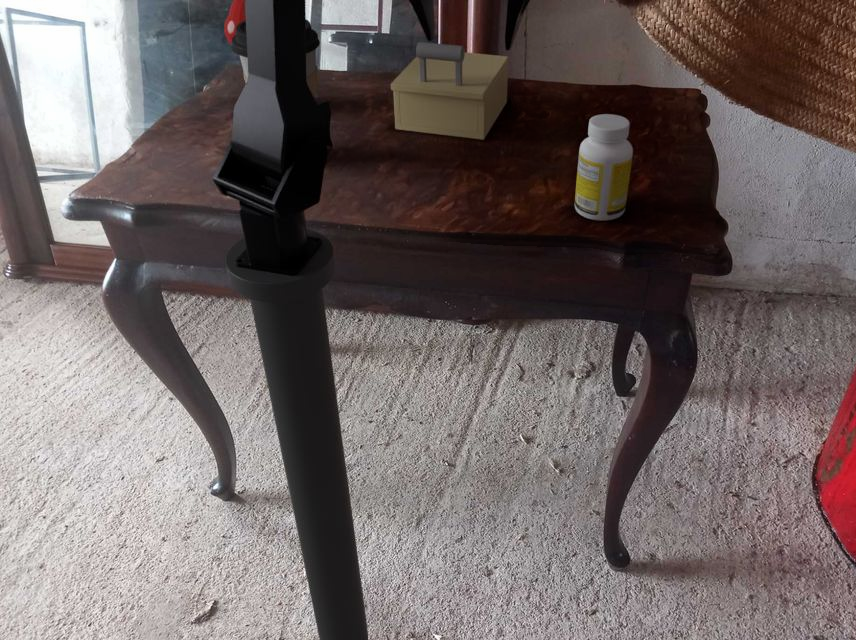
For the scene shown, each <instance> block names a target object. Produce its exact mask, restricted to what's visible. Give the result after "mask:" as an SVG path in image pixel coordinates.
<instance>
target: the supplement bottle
mask: <svg viewBox="0 0 856 640" xmlns="http://www.w3.org/2000/svg"><path fill="white" fill-rule="evenodd" d="M630 126H631V125H630V120H629V119H627V117H624V116H622V115H619V114H610V113H603V114H597V115H593V116H591V118H590V119H589V121H588V128H587V137H585V138H584V139H583V140H582V141H581V143H580V146H579V149H578V150H579V151H578V160H577V161H578V162H577V169H576V170H577V172H576V181H575V194H574V209H575V212H576V213H578V214H579V215H580V216H582V217H583V218H586V219H589V220H592V221H605V222H606V221H612V220H615V219H618V218H620V217H621V216H623V214H624V213H625V211H626V206H627V202H628V201H627V199H628V191H629V186H630V185H629V184H630V177H631V170H632V163H633V156H634V155H633V154H634V148H633V145H632V144H631V143H630V141H629V140H628V138H629V134H630Z"/></svg>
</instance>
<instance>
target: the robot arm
mask: <svg viewBox="0 0 856 640" xmlns="http://www.w3.org/2000/svg"><path fill="white" fill-rule="evenodd" d="M408 2H409V3H410V6H411V8H412V9H413V11H414V13H415V15H416V17H417V20H418V21H419V24H420V26H421V29H422V31H423V33H424V35H425V37H426V39H427V41H428V42H432V41H433V40H434V39H435V32H436V30H435V29H436V26H435V25H436V22H435V9H434V0H408ZM506 2H507V5H506V17H505V29H504V47H505V51H510V50H511V49H512V47H513V45H514V42H515V39H516V36H517V34H518V31H519V28H520V26H521V23H522V20H523V17H524V15H525V12H526V9H527V8H528V6H529V4H530V2H531V0H507V1H506ZM306 15H307V13H306V0H245V17H246V37H247V57H248V80H247V82H246V83H245V85H244V86H243V88H242V90H241V92H240V94H239V96H238V98H237V100H236V101H235V103H234V107H233V115H232V128H231V139H230V142H229V143H228V145H227V148H226V149H225V152H224V153H223V156H222V158H221V160H220V162H219V164H218V166H217V168H216V170H215V172H214V174H213V176H212V181H213V183H214V185H215V186H216V188H217V190H218V191H219V192H220V194H221V195H222V196H225V197H229V198H231V199H234V200H236V201H238V204H239V208H240V209H239V210H238V213H239V216H240V217H239V218H240V222H241V228H242V234H243V238H244V239H245V244H246V249H245V250H244V251H243V253H242V254H241V255H240V256H239V257H238V258H237V259H236V260H235V264H236V266H237V267H241V268H247V269H253V270H259V271H265V272H271V273H277V274H283V275H289V276H296V275H298V274H299V272H300V271H301V270H302V269H303V267H304V266H305V265H306V264H307V262H308V261H309V260H310V259H311V257H312V256H313V255H314V254H315V252H316V251H317V250H318V249H319V247H320V246H321V245H322V239H321V238H317V237H310V236H307V229H308V228H307V221H306V215H305V211H307V210H308V209H310V208H312V207H314V206H316V205H318V204H319V203H320V201H321V194H322V188H323V181H324V175H325V169H326V164H327V161H328V152H329V151H328V148H333V146H334V145H333V141H332V138H331V120H332V108H331V104H330V102H329V101H328V100H325V99H322V98H319V97H318V98H315V97H314V96H313V94H312V92H311V90H310V88H309V86H308V83H307V78H306V20H307V17H306Z"/></svg>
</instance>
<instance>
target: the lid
mask: <svg viewBox="0 0 856 640" xmlns="http://www.w3.org/2000/svg"><path fill="white" fill-rule="evenodd" d="M415 48H416V50H415V54H416V56H415V57H414V59H413V60H412V61H411V62H410V63H409V64H408V65H407V66H406V67H405V68H404V69H403V70H402V72H400V73H399V75H398V76H396V78H395V79H394V80H393V81H392V82H391V83H390V91H393V90H394V91H403V92H412V93H421V94H431V95H440V96H449V97H458V98H467V99H476V100H483V99H484V98H485V96H486V95H487V93H488V92H489V90H490V89H491V87H492V86H493V84H494V83H495V81H496V80H497V78H498V77H499V75H500V74H501V72H502V71H503V69H504V68H505V66H506V65H507V63H508V64H509V56H507V55H497V54H496V55H495V54H487V53H475V52H466V49H465V46H464V45H455V44H446V43H435V42H434V43H433V42H424V41H418V42H417V44H416V47H415Z"/></svg>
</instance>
